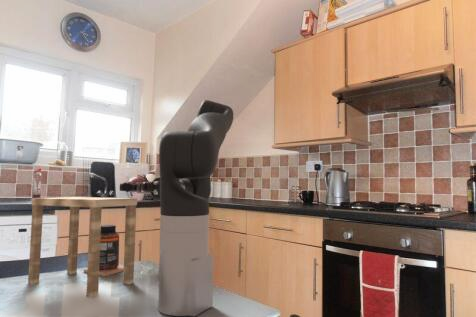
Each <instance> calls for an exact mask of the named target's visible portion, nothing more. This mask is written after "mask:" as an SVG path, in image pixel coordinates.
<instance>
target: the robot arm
mask: <svg viewBox="0 0 476 317" xmlns="http://www.w3.org/2000/svg"><path fill="white" fill-rule="evenodd" d="M196 114H197V115H196V117H195V118H194V119H193V120H192V121H191V123H190V124H189V127H188V129H187V130H181V131H179V130H173V131H172V130H171V131H166V132H164V133H163V134H162V136H161V138H160V141H159V142H160V143H159V149H158V159H159V160H158V165H159V166H158V167H159V176H156V177H155V178H154V179H153V180H152V181H146V182H145V181H138V182H136V183H132V182H130V183H128V182H127V183H124V182H122V183H119V191H120V192H125V193H136V194H145V195H151V197H152V198H153V199H155V200H156V201H159V202H160V203H159V204H160V205H159V206H160V216H159V252H158V253H159V257H158V259H159V260H158V303H157V305H158V307H157V309H158V311H159V312H160V313H161V314H164V315H167V316H173V317H186V316H190V317H196V316H199V314H201V313H203V312H205V311H206V310H208V309H210V308H212V307H213V306H214V300H213V299H214V298H213V295H214V279H213V278H214V256H213V254H211V253H210V250H209V249H210V244H209V243H210V240H209V239H210V202H209V198H210V197H211V192H212V185H211V184H212V183H211V182H212V181H211V176H212V175H213V173H214V172H215V170H216V167H217V163H218V159H219V153H220V149H221V146H222V144H223V143H224V141H225V139H226V136H227V133H228V132H229V131H230V129H231V128H232V125H233V121H234V110H233V108H231V107H230V106H229V105H226V104H223V103H220V102H217V101H213V100H208V99H205V100H203V101H202V102H201V104H200V105H199V108H198V111H197V113H196Z"/></svg>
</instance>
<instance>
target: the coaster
mask: <svg viewBox="0 0 476 317" xmlns="http://www.w3.org/2000/svg"><path fill="white" fill-rule="evenodd" d="M87 270H88V268H85V269H83V273H85V274H87ZM122 272H124V265H121V264H119V265H118V267H116V268H114V269H108V270H99V276H101V275H102V276H103V277H107V276H111V275H114V274H118V273H122Z"/></svg>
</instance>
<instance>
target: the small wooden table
mask: <svg viewBox="0 0 476 317" xmlns="http://www.w3.org/2000/svg"><path fill="white" fill-rule="evenodd" d="M30 204H31V205H30V206H32V207H31V208H32V211H31V227H30V242H29V243H30V245H29V246H30V247H29V263H28V276H27V277H28V278H27V280H28V281H27V283H28V285H34V284H39V283H40V271H41V270H40V269H41V252H42V236H43V235H42V234H43V216H44V215H43V214H44V206H48V207H49V206H50V207H52V206H54V207H69V225H68V226H69V228H68V243H67V244H68V248H67V267H66V268H67V270H66V273H67V275H75V274H77V271H78V255H79V254H78V249H79V248H78V247H79V246H78V245H79V230H80V228H79V226H80V225H79V224H80V208H89V225H88V227H89V228H88V230H89V232H88V251H87V269H88V270H87V273H86V275H87V276H86V297H89V298H93V297H96V296H99V284H100V282H99V281H100V275H99V263H100V237H101V226H102V208H105V207H106V208H107V207H108V208H109V207H125V220H124V221H125V223H124V224H125V226H124V251H123V255H124V256H123V266H124V271H123V278H122V279H123V285H128V286H129V285H132V284H134V278H135V277H134V275H135V248H136V247H135V244H136V241H135V240H136V216H137V215H136V213H137V211H136V209H137V205H138V198H137V197H98V196H97V197H93V196H92V197H90V196H89V197H88V196H87V197H86V196H82V197H81V196H70V197H69V196H65V197H64V196H63V197H32V198H31V202H30Z"/></svg>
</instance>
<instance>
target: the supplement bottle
mask: <svg viewBox="0 0 476 317" xmlns="http://www.w3.org/2000/svg"><path fill="white" fill-rule="evenodd" d="M116 230H117V226H116V224H101V237H100V263H99V270H108V269H114V268H116V267H118V265H120V264H119V260H120V259H119V258H120V234H119V233H118V232H117V231H116Z"/></svg>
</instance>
